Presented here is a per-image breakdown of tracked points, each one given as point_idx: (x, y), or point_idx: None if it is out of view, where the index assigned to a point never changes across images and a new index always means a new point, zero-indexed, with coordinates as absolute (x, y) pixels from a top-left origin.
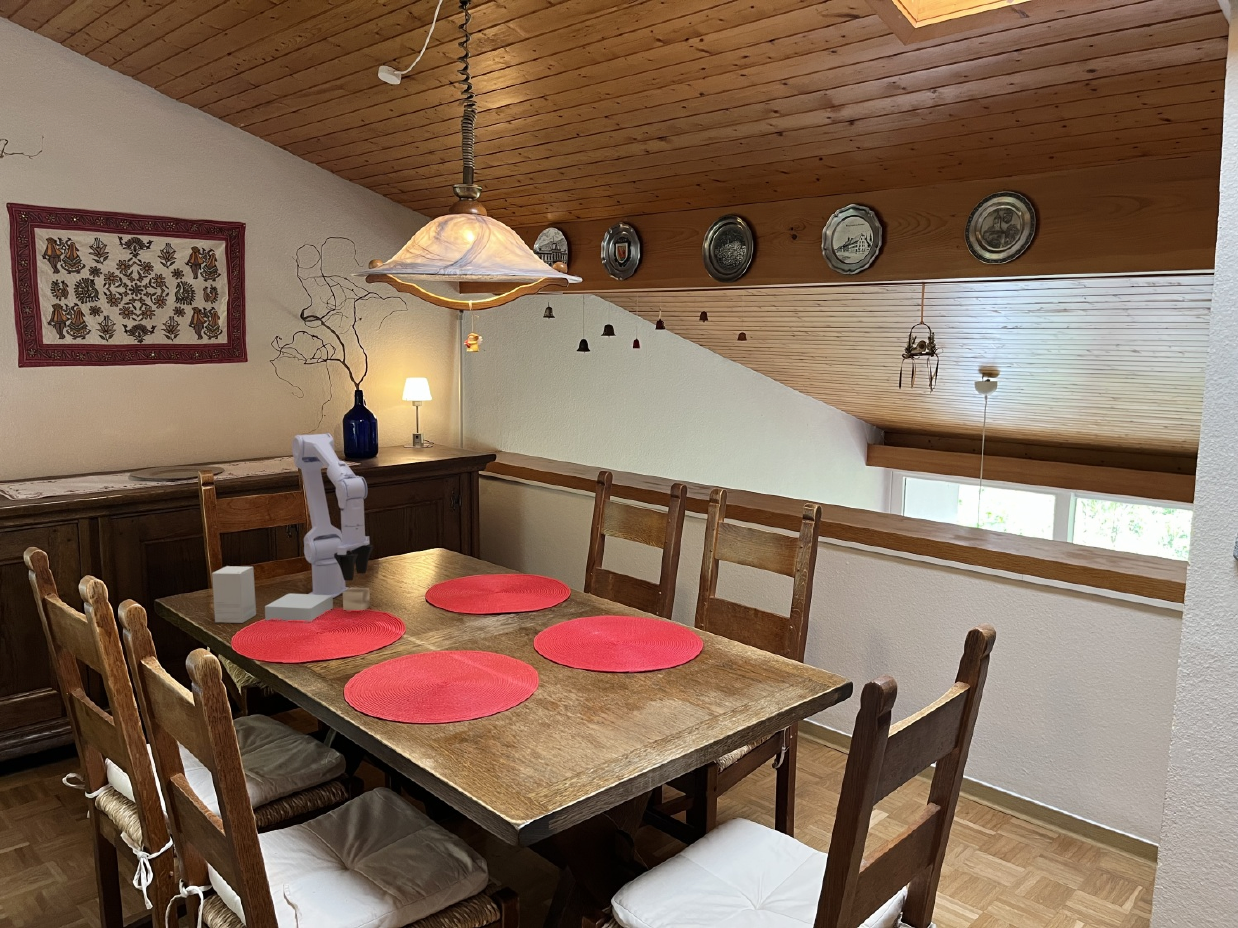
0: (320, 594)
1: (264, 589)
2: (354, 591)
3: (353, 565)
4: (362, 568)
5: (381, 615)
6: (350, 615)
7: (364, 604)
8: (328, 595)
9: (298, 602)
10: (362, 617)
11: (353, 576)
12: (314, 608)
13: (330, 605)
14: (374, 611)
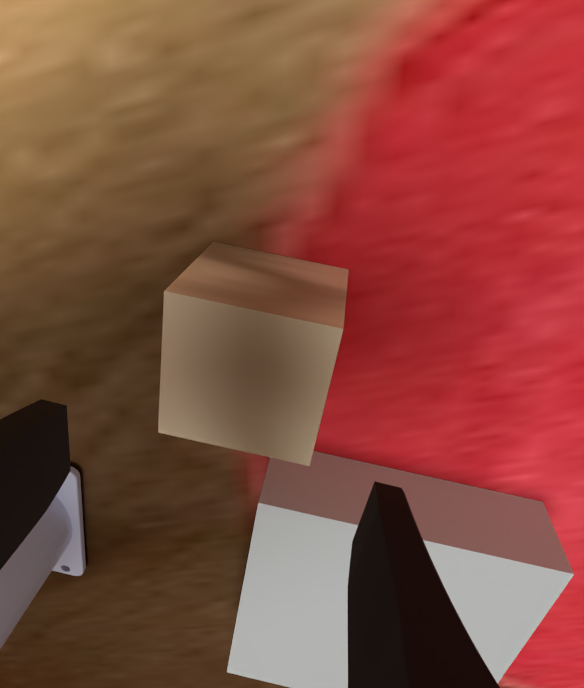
0: (69, 532)
1: (21, 684)
2: (280, 391)
3: (451, 664)
4: (31, 464)
5: (466, 89)
6: (429, 327)
7: (298, 273)
8: (261, 521)
9: None
10: (496, 237)
11: (381, 505)
12: (515, 548)
13: (300, 468)
14: (342, 178)
